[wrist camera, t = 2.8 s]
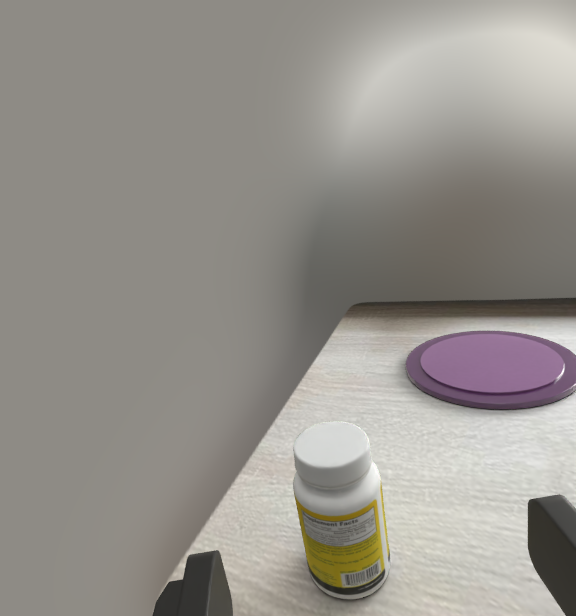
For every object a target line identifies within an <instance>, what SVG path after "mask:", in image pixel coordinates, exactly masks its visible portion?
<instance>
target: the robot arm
mask: <svg viewBox="0 0 576 616" xmlns="http://www.w3.org/2000/svg"><path fill="white" fill-rule="evenodd" d="M528 550H529V554H530V558H531V561H532V563H533V565H534V568H535V570H536V571H537V573H538V575H539V576H540V578H541V579H542V581H543V582H544V584H545V585H546V587H547V588H548V590H549V591H550V593H551V594H552V596H553V597H554V599H555V600H556V602H557V603H558V605H559V606H560V608H561V609H562V611H563V612H564V613H565V615H566V616H576V508H575V507H574V506H573V505H572V504H571V503H570V502H569V501H568V500H567V499H566V498H565V497H564V496H562V495H554V496H548V497H542V498H536V499H530V500H529V502H528ZM153 616H233V609H232V599H231V594H230V590H229V586H228V582H227V578H226V574H225V571H224V567H223V563H222V559H221V555H220V553H219V551H218V550H216V551H210V552H204V553H198V554H192V555H189V556H188V559H187V562H186V568H185V573H184V578H183V580H177V581H171V582H169V583H168V584H167V586H166V587H165V589H164V591H163V592H162V594H161V595H160V597H159V598H158V600H157V602H156V605H155V609H154V613H153Z"/></svg>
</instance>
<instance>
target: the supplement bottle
mask: <svg viewBox="0 0 576 616" xmlns="http://www.w3.org/2000/svg"><path fill="white" fill-rule="evenodd" d="M293 451H294V458H295V468H296V470H297V472H296V474H295V477H294V483H293V487H294V495H295V500H296V505H297V510H298V515H299V520H300V526H301V531H302V536H303V541H304V546H305V552H306V557H307V562H308V567H309V571H310V574H311V577H312V579H313V580H314V582H315V583H316V585H317V586H318V587H319V588H320V589H321V590H322V591H324V592H325V593H327V594H329V595H331V596H334V597H337V598H342V599H358V598H362V597H365V596H368V595H370V594H372V593H373V592H375V591H376V590H377V589H378V588H379V587H381V585H382V584H383V583H384V581H385V580H386V578H387V576H388V573H389V569H390V552H389V544H388V536H387V528H386V520H385V512H384V503H383V494H382V485H381V476H380V473H379V471H378V468H377V466H376V465H375V463H374V462H373V461H372V458H371V452H370V444H369V439H368V436H367V435H366V433H365V432H364V431H363V430H362V429H361V428H359V427H358V426H356V425H354V424H351V423H347V422H341V421H329V422H323V423H319V424H316V425H313V426H311V427H309V428H307V429H305V430H304V431H303V432H302V433H300V434H299V435H298V437H297V438H296V440H295V442H294V446H293Z"/></svg>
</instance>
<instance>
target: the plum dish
mask: <svg viewBox="0 0 576 616" xmlns="http://www.w3.org/2000/svg"><path fill="white" fill-rule="evenodd" d="M406 372H407V375H408V377H409V379H410V380H411V381H412V383H413V384H414V385H416V386H417V387H418V388H419V389H421V390H422V391H424V392H426V393H427V394H429V395H431V396H434V397H436V398H438V399H441V400H444V401H447V402H450V403H454V404H459V405H463V406H469V407H475V408H485V409H521V408H530V407H536V406H541V405H545V404H549V403H552V402H555V401H558V400H560V399H563V398H564V397H566V396H568V395H570V394H571V393H573V392H574V391H575V390H576V355H575V354H574V353H572V352H571V351H570V350H568V349H567V348H565V347H563V346H561V345H559V344H557V343H555V342H552V341H549V340H546V339H543V338H540V337H536V336H532V335H527V334H521V333H515V332H505V331H469V332H460V333H454V334H449V335H444V336H441V337H437V338H434V339H431V340H429V341H427V342H425V343H423V344H421V345H419V346H418V347H416V348H415V349H414V350H413V351H412V352H411V353H410V354H409V355H408V357H407V360H406Z"/></svg>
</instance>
